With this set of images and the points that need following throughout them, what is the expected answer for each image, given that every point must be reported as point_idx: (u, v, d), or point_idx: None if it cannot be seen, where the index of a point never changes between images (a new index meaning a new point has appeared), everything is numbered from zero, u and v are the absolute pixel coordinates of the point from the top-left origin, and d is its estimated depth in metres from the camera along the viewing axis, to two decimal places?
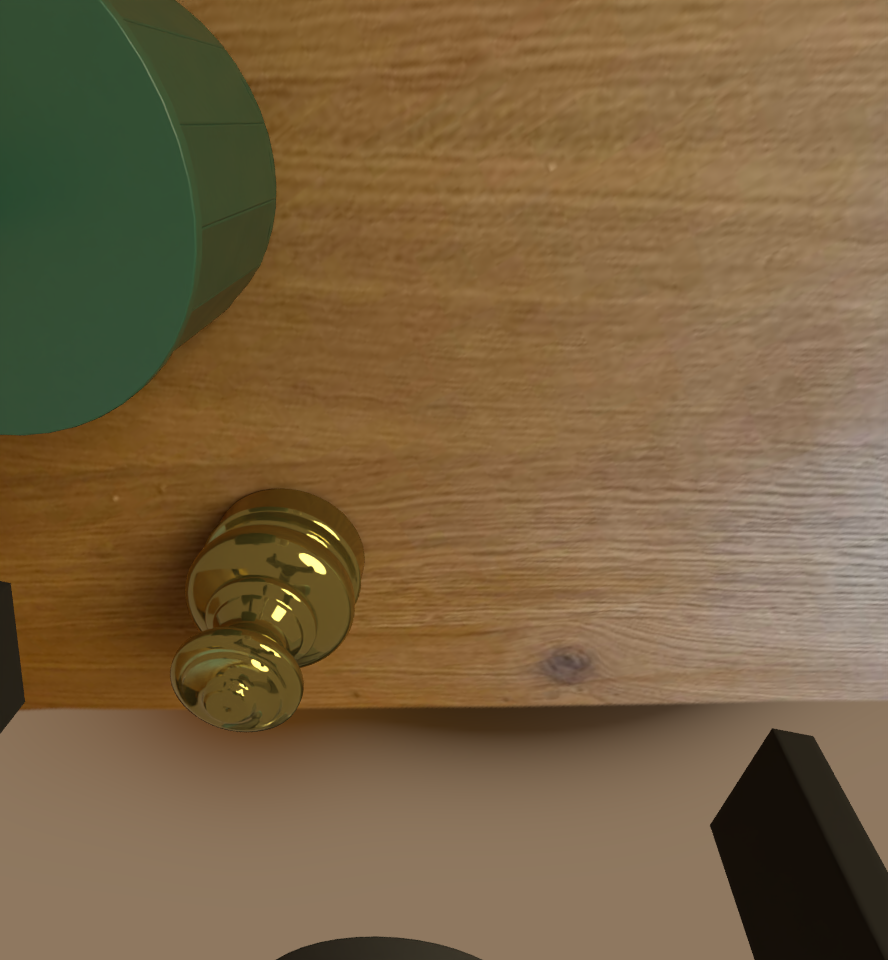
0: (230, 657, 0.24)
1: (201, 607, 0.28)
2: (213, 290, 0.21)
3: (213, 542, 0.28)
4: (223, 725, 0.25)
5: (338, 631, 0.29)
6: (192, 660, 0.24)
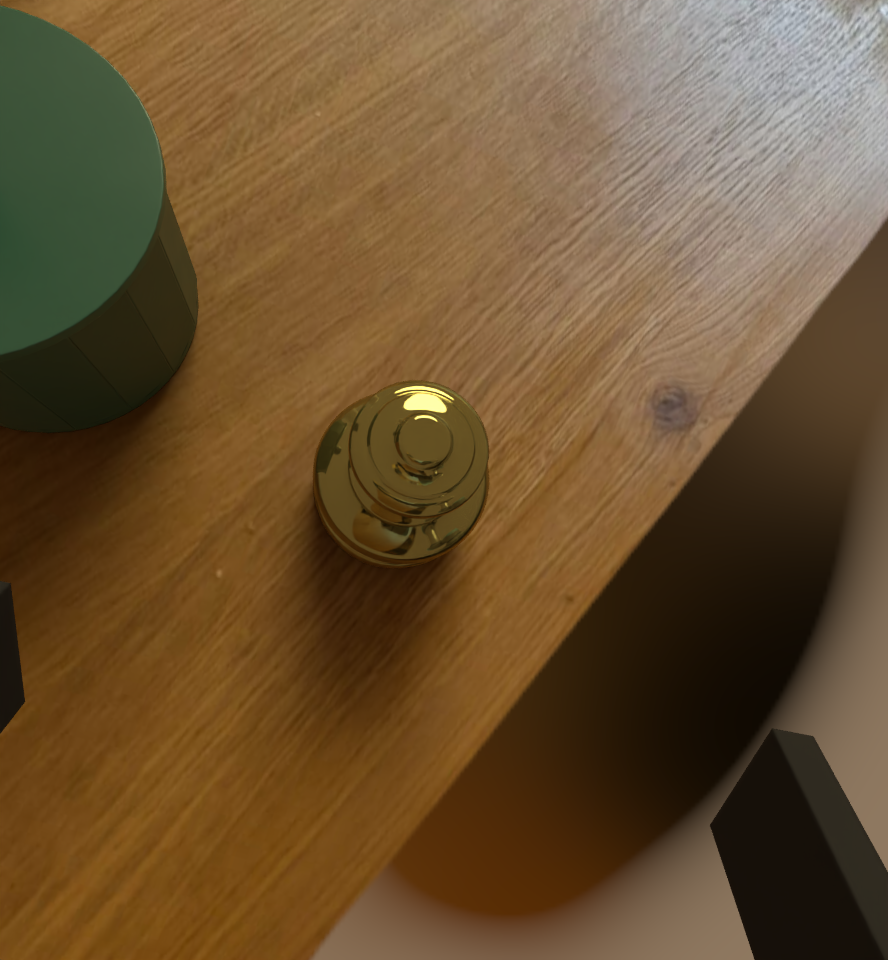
0: (390, 402, 0.23)
1: (350, 507, 0.26)
2: None
3: None
4: (443, 486, 0.23)
5: None
6: (365, 437, 0.23)
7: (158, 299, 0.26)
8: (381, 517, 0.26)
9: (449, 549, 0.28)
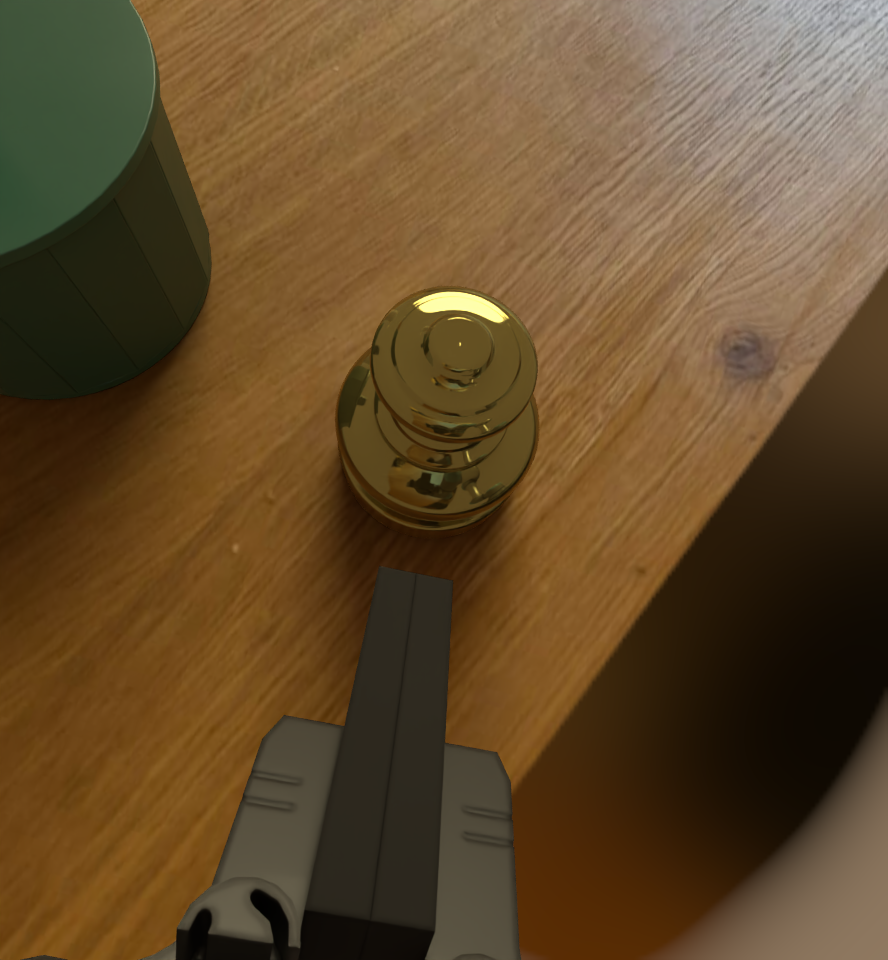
0: (417, 306, 0.19)
1: (378, 451, 0.23)
2: (170, 127, 0.24)
3: None
4: (485, 400, 0.19)
5: None
6: (388, 348, 0.19)
7: (158, 229, 0.23)
8: (414, 459, 0.22)
9: (496, 501, 0.23)
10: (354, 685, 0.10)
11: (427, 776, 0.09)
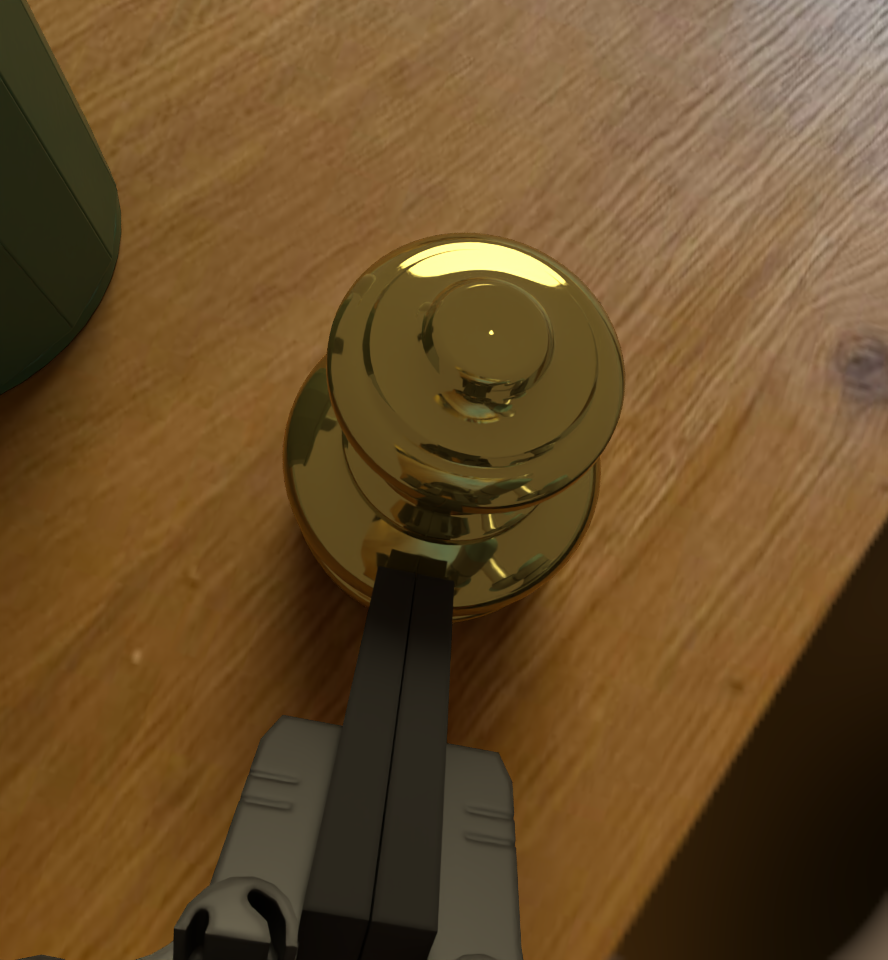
0: (412, 266, 0.11)
1: (348, 508, 0.14)
2: (25, 7, 0.15)
3: (288, 420, 0.15)
4: (536, 438, 0.10)
5: None
6: (359, 338, 0.10)
7: None
8: (405, 525, 0.13)
9: (535, 587, 0.15)
10: (353, 685, 0.10)
11: (428, 776, 0.09)
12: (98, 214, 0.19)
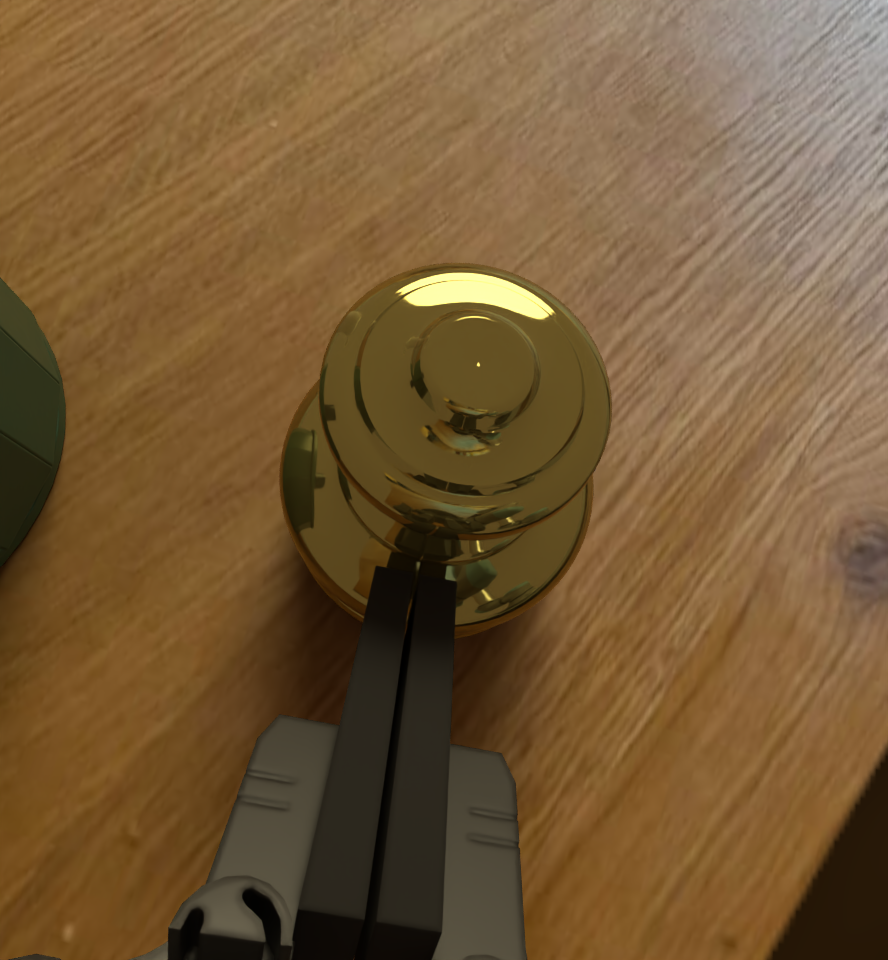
0: (406, 295, 0.11)
1: (339, 526, 0.14)
2: None
3: (286, 435, 0.16)
4: (518, 469, 0.10)
5: None
6: (351, 365, 0.11)
7: None
8: (394, 544, 0.14)
9: (522, 609, 0.15)
10: (349, 684, 0.10)
11: (432, 777, 0.09)
12: (34, 430, 0.17)
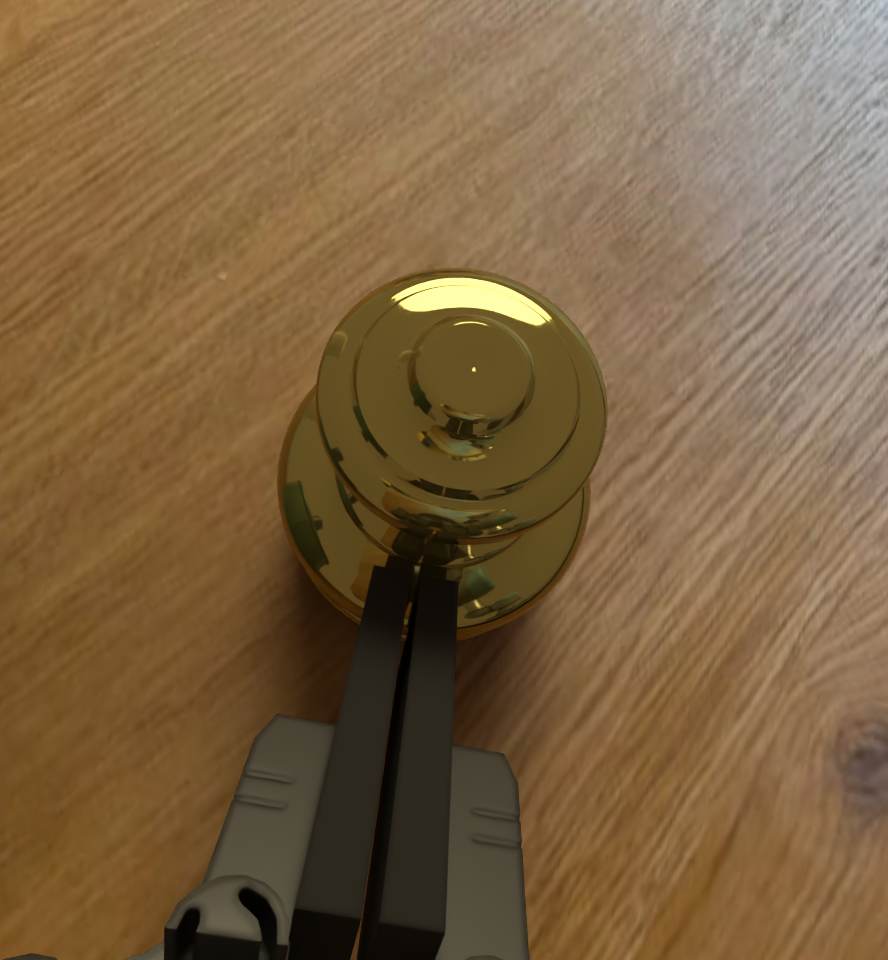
0: (404, 299, 0.11)
1: (336, 527, 0.14)
2: None
3: (285, 436, 0.16)
4: (512, 474, 0.10)
5: None
6: (347, 367, 0.11)
7: None
8: (389, 547, 0.14)
9: (517, 614, 0.15)
10: (347, 684, 0.10)
11: (435, 777, 0.09)
12: None
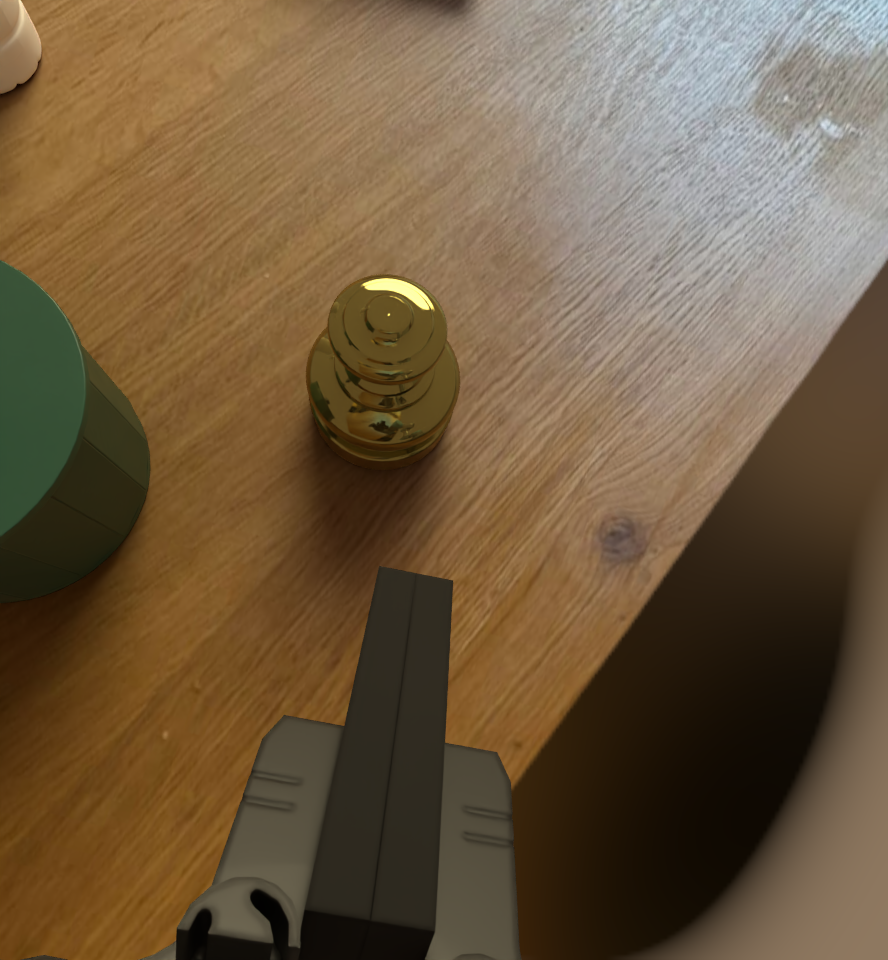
0: (363, 287, 0.27)
1: (334, 393, 0.31)
2: (105, 395, 0.28)
3: (309, 354, 0.32)
4: (404, 355, 0.27)
5: None
6: (340, 314, 0.27)
7: (93, 487, 0.28)
8: (359, 400, 0.30)
9: (420, 437, 0.31)
10: (354, 685, 0.10)
11: (427, 776, 0.09)
12: (138, 471, 0.32)
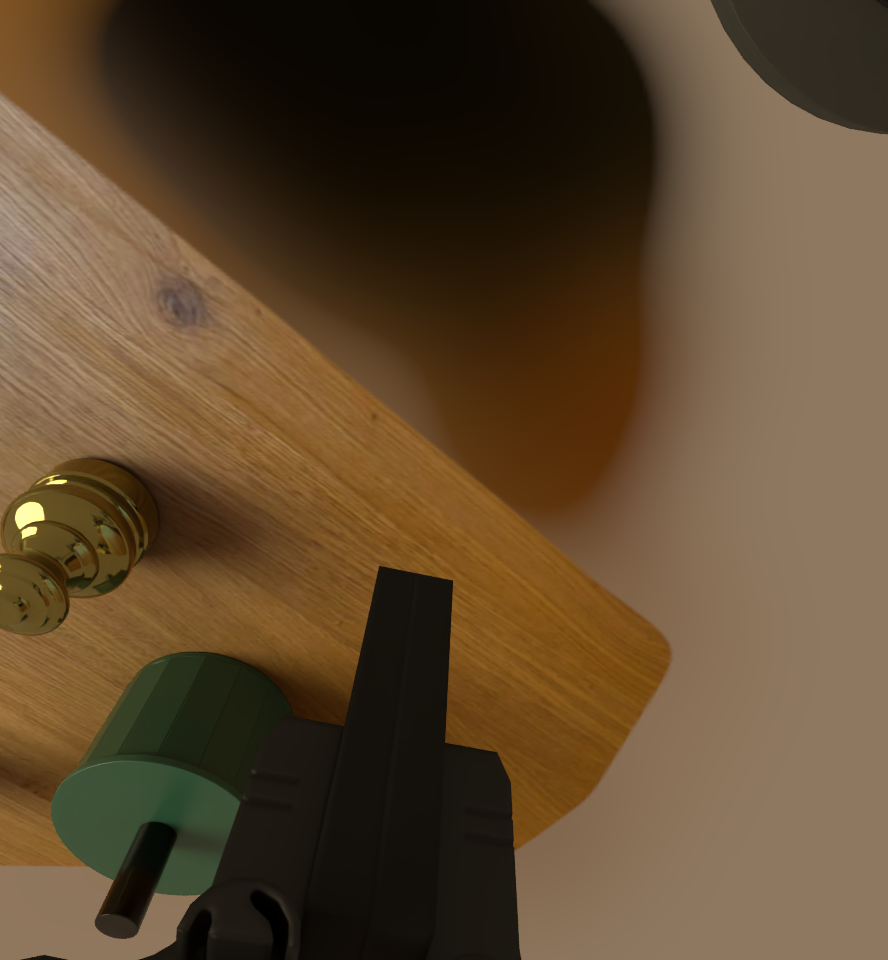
0: None
1: (93, 588, 0.38)
2: (132, 722, 0.42)
3: None
4: (36, 595, 0.33)
5: (22, 507, 0.36)
6: (18, 631, 0.35)
7: (198, 721, 0.42)
8: (92, 578, 0.37)
9: (114, 522, 0.37)
10: (354, 685, 0.10)
11: (427, 776, 0.09)
12: (191, 669, 0.46)
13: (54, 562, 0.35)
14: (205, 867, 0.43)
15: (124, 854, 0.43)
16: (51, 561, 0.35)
